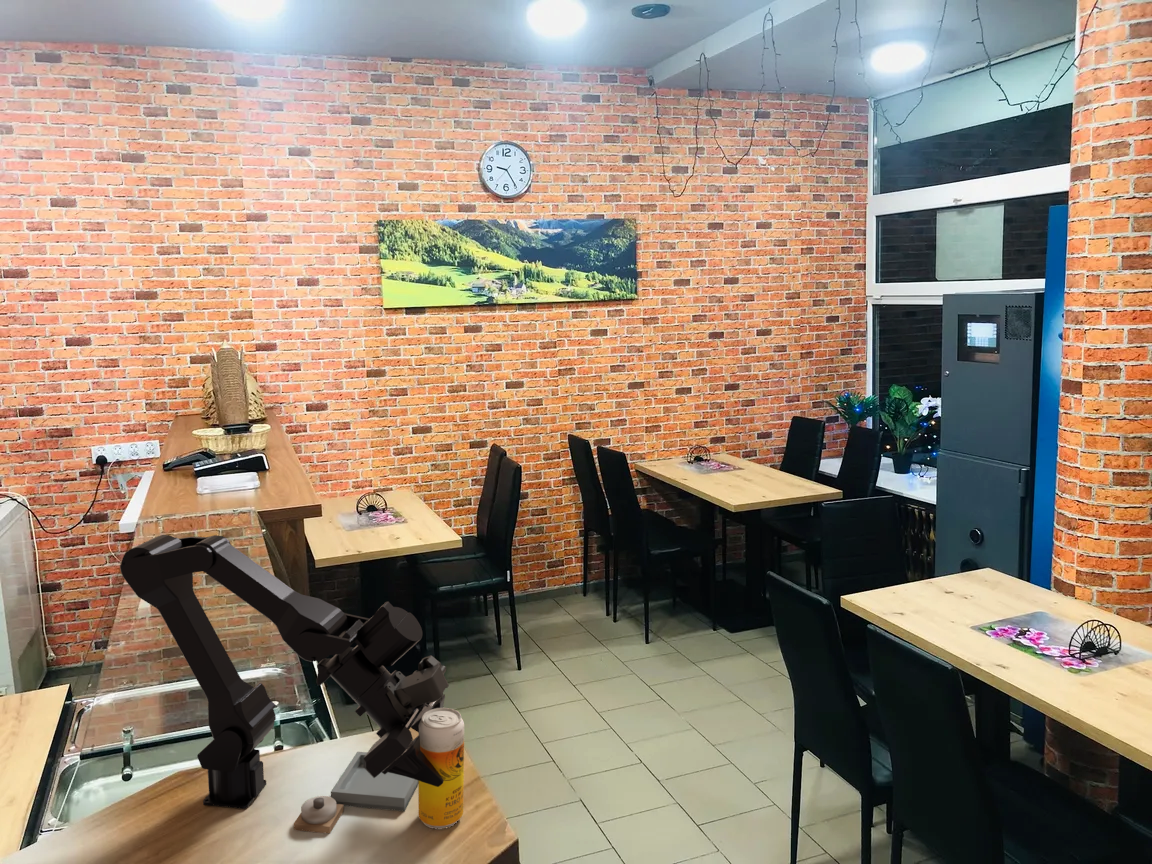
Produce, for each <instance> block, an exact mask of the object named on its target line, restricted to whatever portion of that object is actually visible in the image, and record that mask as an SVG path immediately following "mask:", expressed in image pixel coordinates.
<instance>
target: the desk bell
mask: <svg viewBox="0 0 1152 864" xmlns="http://www.w3.org/2000/svg"><path fill="white" fill-rule="evenodd" d="M344 808H345V806H344V805H342V804H336V801H335V800H334V799H333V798H331V796H327V795H317V796H314V797H311V798H309V799H307V800H306V801H304V802H303V803H302V804H301V806H300V812H299V813H300V814H299V815H298V816H297V818H296V819H295V821H294V822H293V830H294V831H300V832H307V833H308V832H309V833H310V832H312V833H320V834H331V833H332V831H333V830H334V828H335V827H336V825H337V823H338V821H339V819H341V817H342V815H343V813H344V812H345V811H344V810H345V809H344Z"/></svg>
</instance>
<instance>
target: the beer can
mask: <svg viewBox="0 0 1152 864" xmlns="http://www.w3.org/2000/svg"><path fill="white" fill-rule="evenodd" d="M418 735H419V736H420V750H421V752H422V753H423V754H424V755H425V757H426V758H427V759H428V760H429V762H430V763H431V764H432V765H433V767H434V768H435V769H436V770H437V772H438V773H439V774H440V776H441V777H442V779H443V780H444V782H443V784H441V785H440V786H439V787H436V786H433V785H430V784H427V783H424V782H421V781H419V784H418V810H417V811H418V812H417V813H418V818H419V820H421V822H422V823H423V825H425V826H426V827H428V828H430V827H431V828H430V829H433V828H435V829H434V830H443V829H442V828H446V827H449V828H451V827H450V826H452V827H454V824H455V823H456V824H457V823H458V822H459V820H460V819H462V817H463V815H464V794H465V791H464V785H465V784H464V782H465V781H464V779H465V775H464V774H465V722H464V720H463V718H462V714H461V713H460V712H459V711H458V710H456V709H455V708H454V709H453V708H449V707H443V708H436V709H432V710H429V711H427V712H426V713H424V714H423V716H422V719H421V721H420V723H419V733H418ZM457 821H458V822H457ZM456 824H455V825H456ZM437 828H438V829H437ZM446 829H447V828H446Z"/></svg>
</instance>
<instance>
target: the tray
mask: <svg viewBox="0 0 1152 864" xmlns="http://www.w3.org/2000/svg"><path fill="white" fill-rule="evenodd" d="M367 753H368V751H357V752H356V753H355V754H354V756H353V757H352V759H351V761H349V763H348V765H347V767H346V768H345V769H344V771H343V773H342V775H341V776H340V777H339V778H338V780H337V782H336V783H335V784H334V785H333V788H332V789H331V791H330V797H331V798H333V799H334V800H335V801H336V804H342V805H344V807H350V808H351V807H353V808H365V809H374V810H375V809H376V810H387V811H396V812H397V811H398V812H399V811H400V812H406V810H407V808H408V806H409V804H410V802H411V800H412V797H414V793H415V792H416V790H417V788H418V787H419V781H418V780H415V779H412V778H409V777H406V776H402V775H398V774H393V773H389V772H387V773H386V774H383V773H382V772H381V773H380V774H379V775H378V776H376V777H375V778H373V777H372V776H371V775H370V774H369V773H368V771H367V770H366V769H365V768H364V759H363V758H364V757H365V755H366V754H367Z"/></svg>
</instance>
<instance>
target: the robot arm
mask: <svg viewBox="0 0 1152 864" xmlns="http://www.w3.org/2000/svg"><path fill="white" fill-rule="evenodd" d="M122 556H123V557H122V559H121V563H120V565H119V569H120V572H121V575H122V578H123V579H124V580H125V582H126V583H127V585H129V588H131V590H132V591H133V592H134V594H135V595H136V596H137V597H138V599H141V600H142V601H144V602H146V603H147V604H149V605H150V606H152V607H154V608H155V609H157V611H158V612H159V614H160V615H161V617H162V619H163V621H164V623H165V624H166V626H167V628H168V630H169V631H170V633H171V636H172V637H173V639H174V641H175V642H176V645H177V646H178V648H179V651H180V652H181V653H182V656H183V657H184V659H185V661H186V663H187V665H188V666H189V669H190V670H191V672H192V674H193V676H194V677H195V679H196V681H197V682H198V685H199V687H200V688H201V690H202V691H203V693H204V695H205V698H206V700H207V716H208V717H207V720H208V721H207V725H208V727H209V729H210V733H211V735H212V739H213V740H211V742H209V743H207V745H206V746H205V747H204V748H203V749H202V750H201V751H199V753H198V754H196V755H197V759H198V762H199V764H200V767H201V769H203V770H207V779H208V780H207V781H208V782H207V783H208V785H207V786H208V795H206V797H204V799H203V800H202V805H204V806H211V807H222V808H231V809H232V808H233V809H247V808H248V807H249V806H250V805H251V804H252V802H253V801H254V800H255V799H256V798H257V797H258V795H259V794H260V793H261V791H263V789H264V788H265V787H266V785H267V780H266V779H265V775H264V762H263V761H262V760H261V757H260V756H261V754H260V753H261V752H260V749H255V748H257V746H259V744H261V743H262V742H264V739H265V737H266V736H267V735H268V734H269V733H270V732H271V731H272V729H273V728H274V726H275V722H276V719H277V718H276V717H277V716H276V712H275V710H274V709H275V708H276V707H277V705H276V704H275V703H274V702H273V701H272V700H271V699H270V696H269V694H268V692H267V689H266V686H265V685H264V684H263V683H258V684H256V685H255V686H252V685H251V684H250V683H247V682H246V681H244V680H243V679H242V678H241V677H240V674H239V672H238V671H237V669H236V667H235V665H234V663H233V662H232V660H231V658H230V655H228V652H227V650H226V649H225V646H224V644H223V643H222V641H221V639H220V638H219V636H218V634H217V632H216V630H215V629H214V627H213V625H212V623H211V621H210V619H209V617H208V616H207V614H206V612H205V610H204V608H203V606H202V604H201V603H200V601H199V599H198V597H197V595H196V594H195V591H194V574H195V573H199V572H203V573H204V574H206V575H207V576H209V577H210V578H211V579H212V580H214V581H215V582H217V583H218V584H220V585H222V586H223V587H224V588H225V589H227V590H228V591H230V592H231V593H233V594H234V595H235V596H237V597H238V598H239V599H240V600H242V601H243V602H244V603H246V604H248V605H249V606H250V607H251V608H254V610H256V611H257V612H259V613H260V614H261V615H263V616H264V617H266V618H267V619H268V620H269V621H270V622H271V623H272V624H274V625H275V627H276V629H277V631H278V633H279V635H280V636H281V639H282V641H283V642H284V643H285V644H286V645H288V646H289V647H290V649H291V650H292V651H293V652H294V653H295V654H296V655H297V656H298V657H300V659H302V660H304V661H306V662H311V663H313V662H318V661H319V662H318V664H316V668H317V676H316V685H317V686H322V685H323V684H324V683H325V682H326V681H327V680H328V679H329V678H332V679H333V680H334V681H335V682H336V683H337V684H338V685H339V686H340V688H341V689H343V691H344V692H345V693H346V694H347V695H348V696H349V697H350V698H351V699H352V700H353V701H354V702H355V703H356V704H357V705H358V707H357V708H356V709H355V710H354V712H355V713H356V714H357V716H359V717H361V716H363V715H364V714H366V715H368V716H369V718H370V719H371V720H372V721H373V722H374V723H375V725H377V726H378V727H379V728H378V730H377V732H376V733H375V734H376V735H377V736H378V737H379V739H377V741H375V742H374V743H373V744H372V745H371V747H370V748H369V750H368V751H367V752H368V753H367V754H366V755H365V757H364V758H363V759H364V768H365V769H366V770H367V771H368V773H369V774H370V775H371V776H372V777H373V778H375V777H376V776H378V775H379V774H380V773H381V772H382V773H383V774H386V773H387V772H389V773H393V774H398V775H402V776H406V777H409V778H412V779H415V780H418V781H421V782H424V783H427V784H430V785H433V786H436V787H439V786H440V785H441V784H443V782H444V780H443V779H442V777H441V776H440V774H439V773H438V772H437V770H436V769H435V768H434V767H433V765H432V764H431V763H430V762H429V760H428V759H427V758H426V757H425V755H424V754H423V753H422V752H421V750H420V736H419V723H420V721H421V719H422V716H423V714H424V713H426V712H427V711H429V710H432V709H436V708H445V707H444V706H445V705H444V704H445V699H446V694H444V692H445V690H446V689H448V687H449V683H448V680H447V679H446V677H445V673H446V671H447V666H445V665H442V663H441V662H440V661H439V660H437V659H436V658H435V657H434V656H433V655H427V656H425V657H423V658H421V661H420V662H419V663H418V670H414V672H413V673H412V674H410V675H407V676H406V675H404V674H403V673H402V672H401V671H398V670H397V669H395V670H394V671H393V672H392V673H390V671H388V669H387V668H386V667H391V666H393V665H394V664H395V663H396V662H397V661H398V660H399V659H401V658H402V657H403V656H404V655H406V653H407V652H409V650H411V649H412V648H413V647H414V646H415V645H417V643H418V642H420V641H421V640H422V638H423V634H424V633H423V630H422V629H423V628H422V627H421V625H420V622H419V621H418V619H417V618H416V617H415V615H414V614H413V613H411V612H408V611H406V610H405V609H403V608H402V607H398V606H393V605H392V604H391V603H390V601H385V602H384V604H381V606H380V607H379V608H378V609H377V610H376V611H375V613H374V614H373V615H372V617H370V618H368V617H363V616H359V615H356V614H355V615H354V614H350V613H347V612H343V610H341V609H340V608H339V607H337V606H335V605H333V604H331V603H329V602H327V601H326V600H323V599H321V598H319V597H313V596H309V595H304V594H302V593H299V592H298V591H295V590H294V589H292V588H291V587H290V586H289V585H287V584H286V583H284V582H283V581H281V580H280V579H279V578H278V577H276V576H275V575H273V573H271V572H269V571H268V570H266V569H265V568H263V567H262V566H261V565H259V563H257V562H255V561H254V560H253V559H251V558H250V557H249V556H247V555H246V554H244V553H243V552H242V551H240V550H239V549H237V548H236V547H235V546H234V545H232V543H231V541H230V540H229V539H228V538H227V537H225V536H224V535H219V534H218V535H217V534H215V535H210V536H194V535H193V536H187V537H186V536H185V537H181V538H178V537H177V536H176V537H175V536H172V535H169V534H161V535H157V536H156V537H153V538H151V539H149V540H146V541H144V542H142V543H141V544H139V545H136V546H134V547H132V548H130V549H129V550H128V551H125V553H124V555H122ZM354 643H355V644H356V646H355V647H352V645H353V644H354ZM329 656H333V657H331V658H327V657H329ZM410 729H412V730H414V731H415V732H417V733H418V735H417V736H416V737H415V738H413V735H412V731H410Z"/></svg>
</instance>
